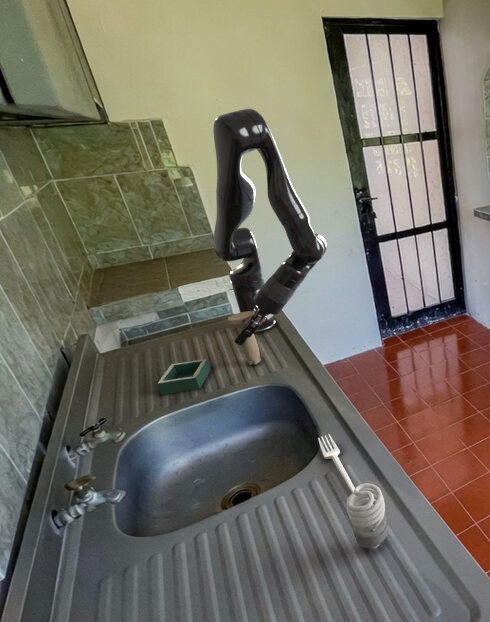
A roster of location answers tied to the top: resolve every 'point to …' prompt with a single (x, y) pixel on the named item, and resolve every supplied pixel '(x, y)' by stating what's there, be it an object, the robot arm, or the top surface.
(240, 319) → the handle
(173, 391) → the socket
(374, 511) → the light bulb
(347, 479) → the fork
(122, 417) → the top surface
